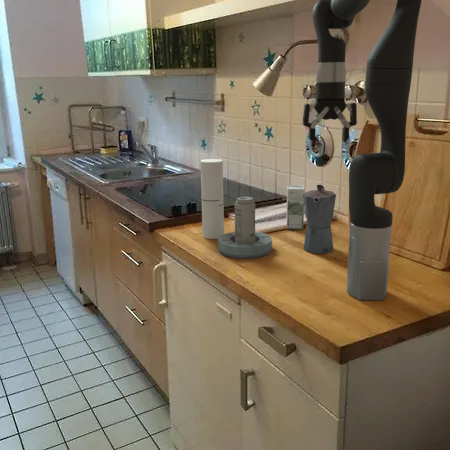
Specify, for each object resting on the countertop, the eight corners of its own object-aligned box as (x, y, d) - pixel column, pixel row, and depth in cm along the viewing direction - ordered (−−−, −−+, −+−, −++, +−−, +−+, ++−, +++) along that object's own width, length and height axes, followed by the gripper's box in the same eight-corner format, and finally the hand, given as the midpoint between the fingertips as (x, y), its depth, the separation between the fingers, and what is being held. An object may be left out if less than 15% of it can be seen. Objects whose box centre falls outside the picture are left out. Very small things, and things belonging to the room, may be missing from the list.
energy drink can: (255, 249, 148) (255, 200, 144) (235, 250, 148) (234, 200, 144) (254, 243, 154) (254, 195, 150) (234, 243, 154) (234, 196, 150)
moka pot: (299, 256, 145) (301, 188, 140) (304, 240, 160) (305, 178, 154) (332, 258, 143) (335, 189, 137) (334, 241, 157) (337, 179, 152)
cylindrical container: (199, 234, 168) (196, 160, 161) (218, 231, 171) (217, 158, 164) (207, 240, 162) (205, 163, 155) (227, 236, 164) (226, 161, 157)
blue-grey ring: (273, 258, 144) (273, 246, 143) (217, 259, 144) (217, 247, 143) (269, 241, 159) (269, 230, 158) (218, 241, 159) (218, 231, 158)
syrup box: (302, 225, 176) (303, 184, 172) (303, 230, 170) (304, 188, 166) (286, 225, 177) (287, 184, 173) (286, 229, 171) (287, 188, 167)
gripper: (306, 81, 130) (305, 144, 134) (361, 79, 130) (358, 143, 134) (302, 81, 137) (300, 141, 141) (354, 80, 137) (351, 140, 141)
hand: (328, 142), depth 138 cm, fingers open, 8 cm apart
